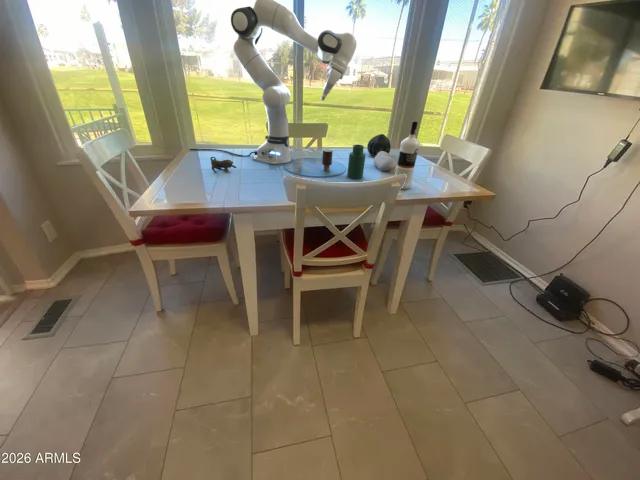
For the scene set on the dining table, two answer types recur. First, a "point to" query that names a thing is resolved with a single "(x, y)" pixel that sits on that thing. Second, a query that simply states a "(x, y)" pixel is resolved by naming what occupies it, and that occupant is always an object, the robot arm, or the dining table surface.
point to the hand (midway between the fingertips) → (323, 98)
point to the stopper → (327, 159)
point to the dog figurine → (221, 164)
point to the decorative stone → (384, 161)
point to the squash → (379, 144)
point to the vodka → (408, 156)
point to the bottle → (356, 163)
